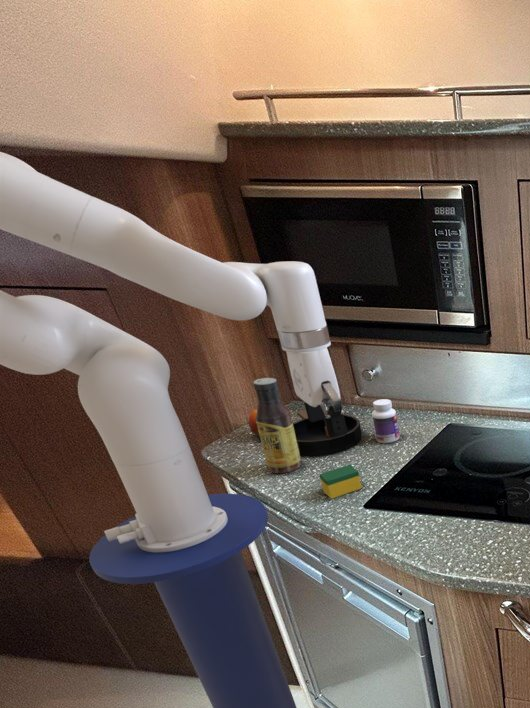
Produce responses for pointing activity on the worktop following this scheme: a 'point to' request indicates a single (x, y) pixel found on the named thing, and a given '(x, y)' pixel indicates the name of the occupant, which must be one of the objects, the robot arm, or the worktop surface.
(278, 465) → the sauce bottle
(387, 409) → the pill bottle
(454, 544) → the worktop surface
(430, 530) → the worktop surface
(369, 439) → the worktop surface
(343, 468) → the sponge
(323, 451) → the pan
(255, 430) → the fruit
